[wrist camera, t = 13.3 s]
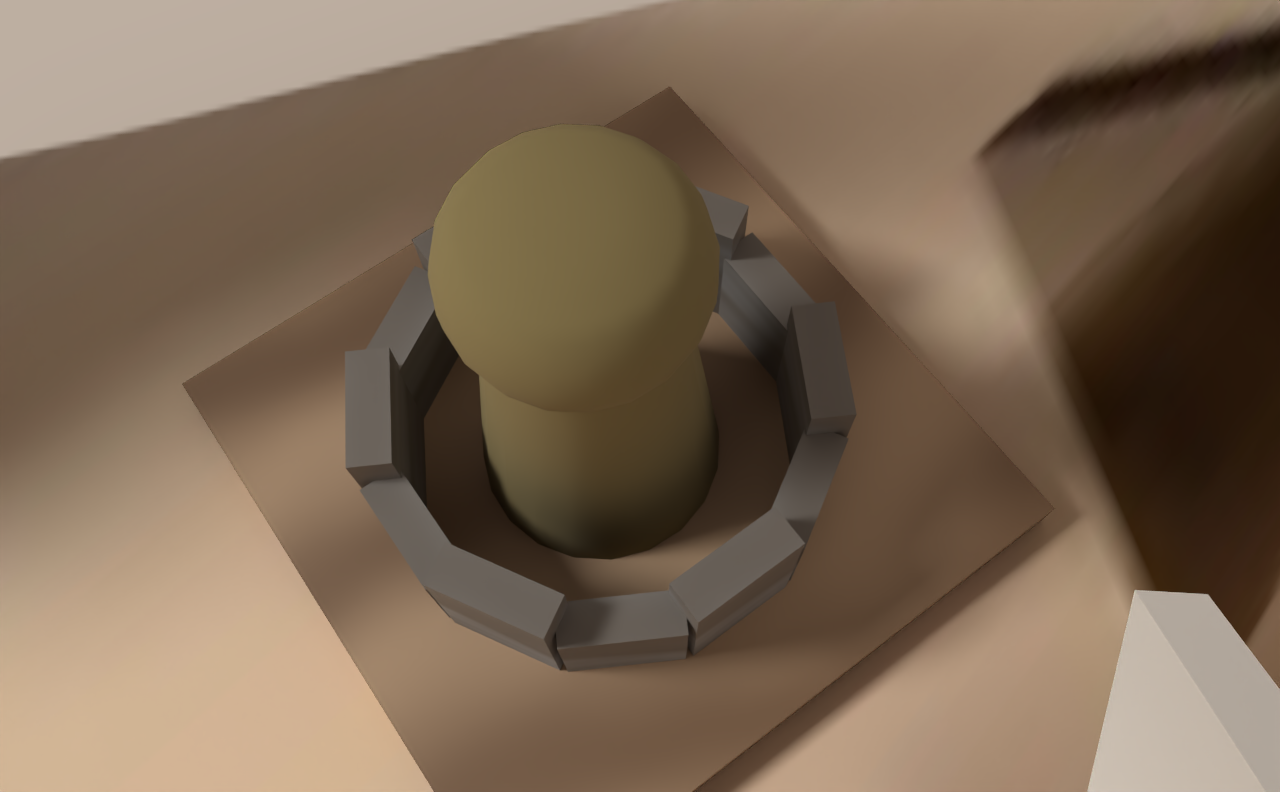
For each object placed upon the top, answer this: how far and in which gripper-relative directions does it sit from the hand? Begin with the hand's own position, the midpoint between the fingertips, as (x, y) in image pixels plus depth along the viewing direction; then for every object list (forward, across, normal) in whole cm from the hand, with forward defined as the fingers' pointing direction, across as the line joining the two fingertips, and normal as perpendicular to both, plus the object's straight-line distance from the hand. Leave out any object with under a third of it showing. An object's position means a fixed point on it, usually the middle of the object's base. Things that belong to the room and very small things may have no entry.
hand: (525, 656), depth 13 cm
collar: (+16, 0, -5) cm, 17 cm away
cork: (+16, 0, -5) cm, 16 cm away
